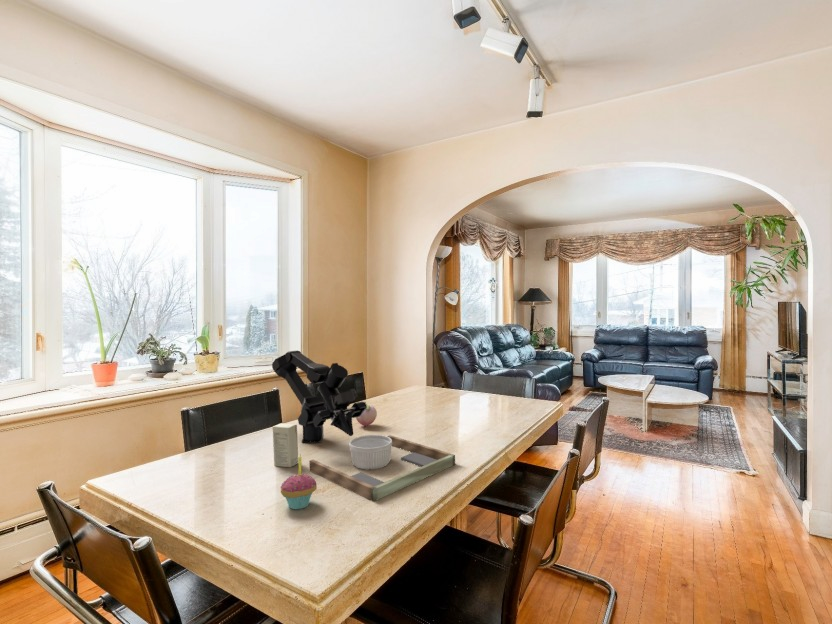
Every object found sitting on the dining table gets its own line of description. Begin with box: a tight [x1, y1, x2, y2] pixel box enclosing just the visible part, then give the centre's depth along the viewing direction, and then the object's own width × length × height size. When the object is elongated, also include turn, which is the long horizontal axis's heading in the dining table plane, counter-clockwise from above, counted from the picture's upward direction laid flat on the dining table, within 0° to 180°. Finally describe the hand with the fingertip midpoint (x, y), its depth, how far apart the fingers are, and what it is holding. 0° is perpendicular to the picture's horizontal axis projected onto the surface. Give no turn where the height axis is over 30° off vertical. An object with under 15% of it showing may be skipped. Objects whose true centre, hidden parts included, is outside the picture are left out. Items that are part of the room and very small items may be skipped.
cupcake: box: [280, 453, 318, 510], centre depth 104 cm, size 9×8×12 cm
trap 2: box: [400, 452, 436, 468], centre depth 132 cm, size 10×6×1 cm, turn 46°
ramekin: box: [348, 434, 393, 471], centre depth 131 cm, size 13×13×7 cm
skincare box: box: [272, 422, 299, 468], centre depth 131 cm, size 6×4×12 cm
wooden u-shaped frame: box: [309, 434, 456, 502], centre depth 127 cm, size 29×32×3 cm
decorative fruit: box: [355, 401, 378, 428], centre depth 170 cm, size 9×8×10 cm
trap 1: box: [350, 471, 385, 486], centre depth 116 cm, size 10×6×1 cm, turn 46°
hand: (352, 435), depth 137 cm, fingers closed
